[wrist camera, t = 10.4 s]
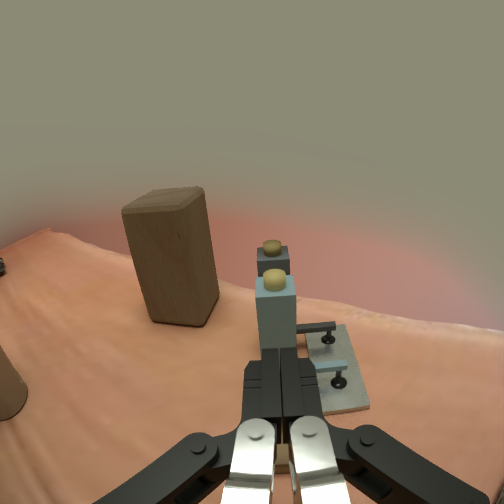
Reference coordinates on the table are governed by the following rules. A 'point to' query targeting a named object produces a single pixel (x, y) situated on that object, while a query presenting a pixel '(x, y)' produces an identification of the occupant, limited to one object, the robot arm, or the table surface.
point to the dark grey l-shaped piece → (278, 258)
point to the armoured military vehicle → (1, 265)
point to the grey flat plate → (331, 388)
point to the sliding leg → (282, 316)
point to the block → (173, 254)
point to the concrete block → (501, 497)
